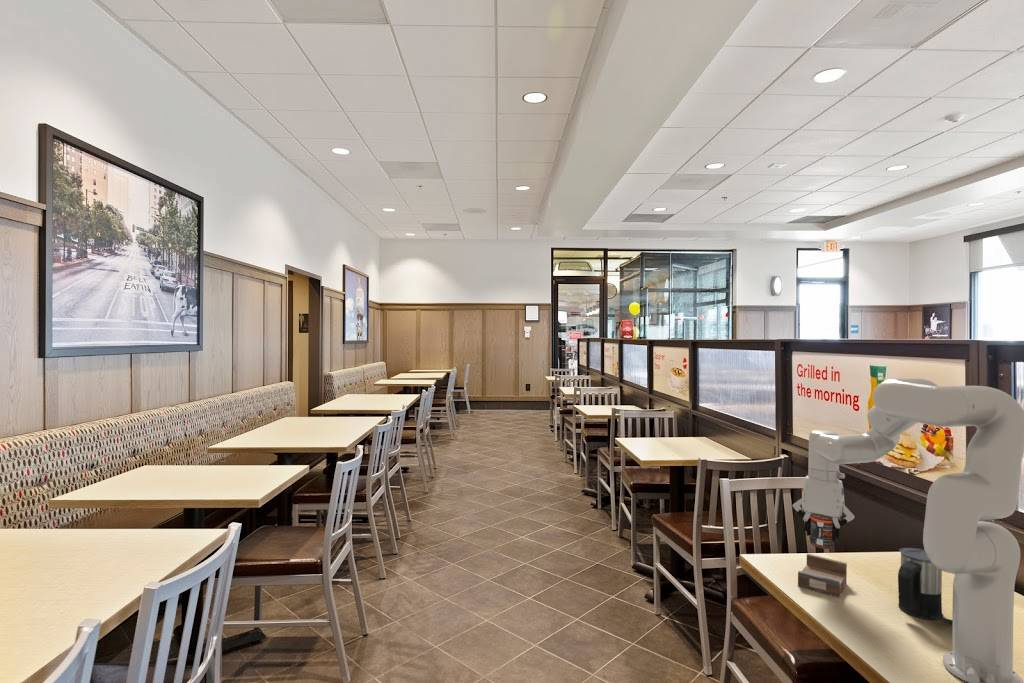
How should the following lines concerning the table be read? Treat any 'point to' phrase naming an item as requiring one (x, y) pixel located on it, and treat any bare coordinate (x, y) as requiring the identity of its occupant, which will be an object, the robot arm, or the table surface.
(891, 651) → the table surface
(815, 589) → the shelf
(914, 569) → the milk frother
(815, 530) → the supplement bottle
